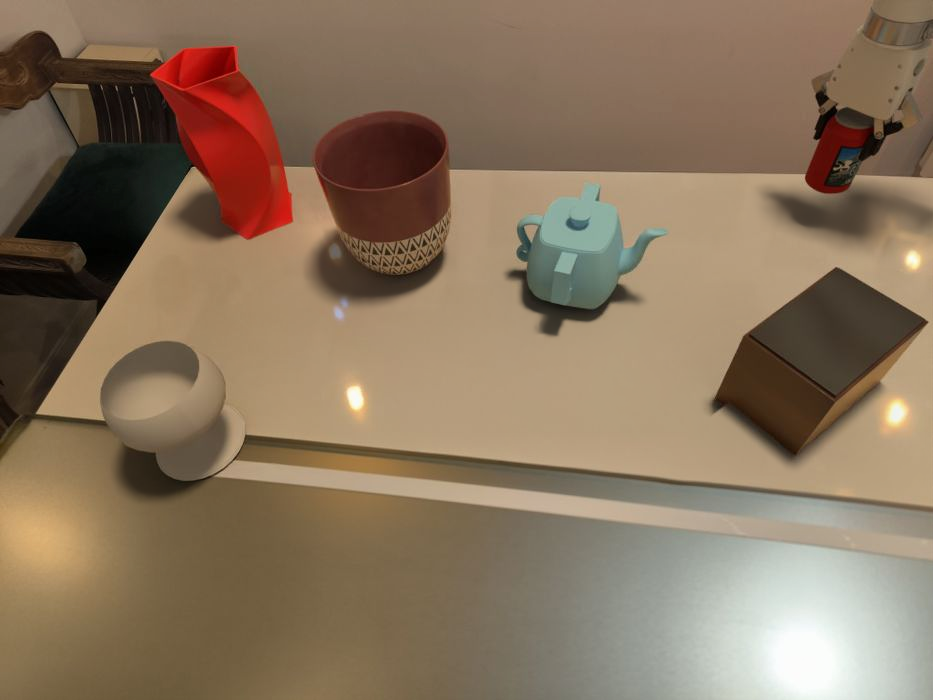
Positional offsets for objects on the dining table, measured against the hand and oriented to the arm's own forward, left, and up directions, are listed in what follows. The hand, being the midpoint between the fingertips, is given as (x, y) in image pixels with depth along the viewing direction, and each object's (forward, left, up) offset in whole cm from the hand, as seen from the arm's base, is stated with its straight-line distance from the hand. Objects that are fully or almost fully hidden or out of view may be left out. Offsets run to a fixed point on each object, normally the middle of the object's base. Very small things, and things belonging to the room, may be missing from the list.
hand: (843, 145), depth 92 cm
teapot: (+40, -12, -14) cm, 44 cm away
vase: (+74, -64, -14) cm, 99 cm away
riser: (+32, +20, -14) cm, 41 cm away
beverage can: (0, 0, -7) cm, 7 cm away
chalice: (+100, -23, -14) cm, 104 cm away
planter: (+59, -37, -14) cm, 71 cm away
